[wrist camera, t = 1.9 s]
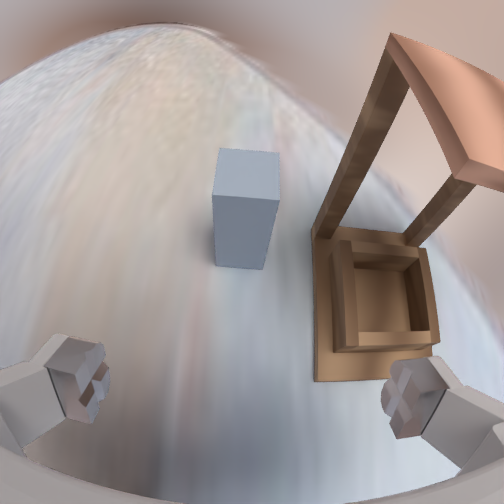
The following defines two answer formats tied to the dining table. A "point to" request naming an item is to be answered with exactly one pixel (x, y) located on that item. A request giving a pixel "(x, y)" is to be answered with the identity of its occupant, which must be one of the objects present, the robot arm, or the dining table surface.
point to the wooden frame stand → (407, 244)
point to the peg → (244, 206)
